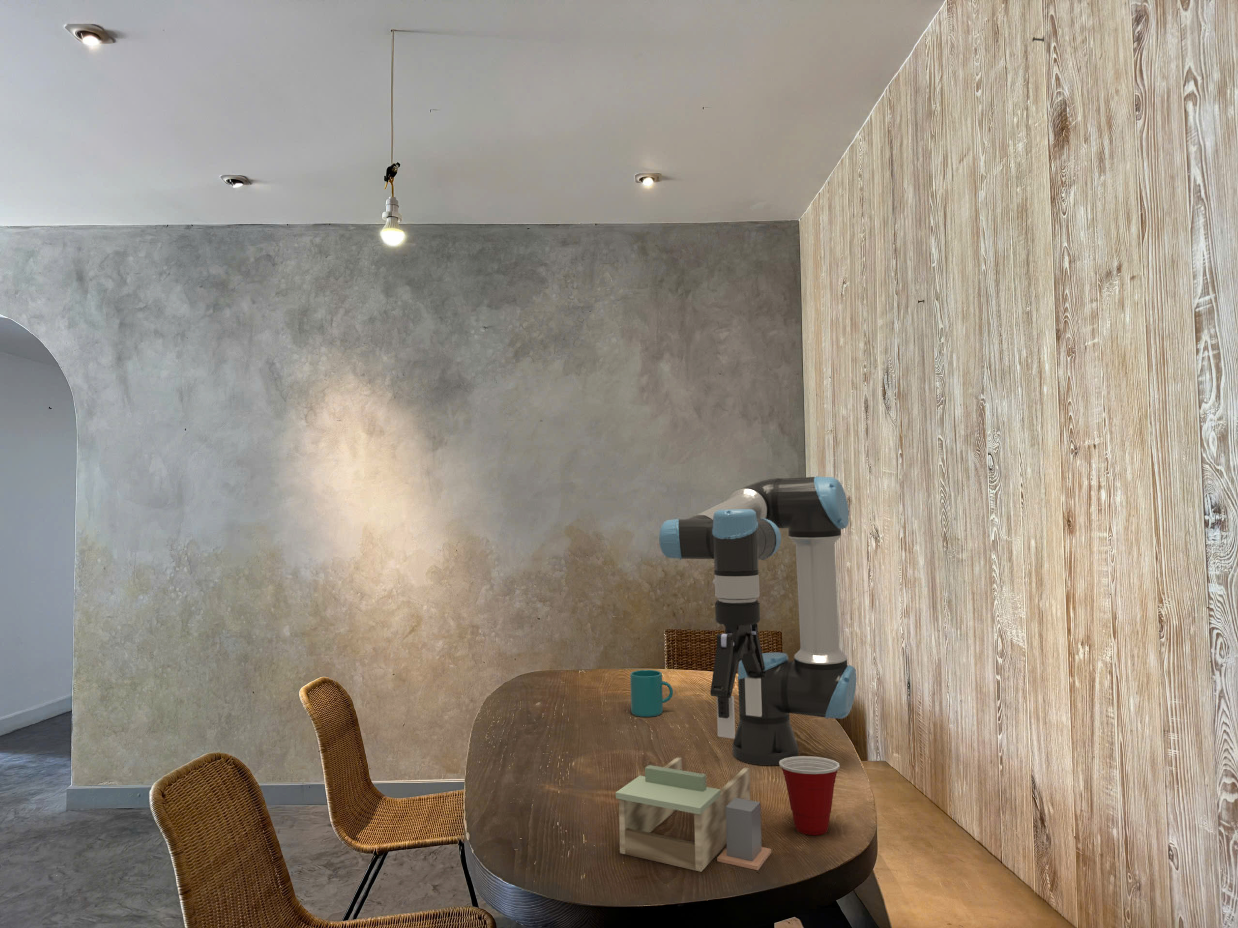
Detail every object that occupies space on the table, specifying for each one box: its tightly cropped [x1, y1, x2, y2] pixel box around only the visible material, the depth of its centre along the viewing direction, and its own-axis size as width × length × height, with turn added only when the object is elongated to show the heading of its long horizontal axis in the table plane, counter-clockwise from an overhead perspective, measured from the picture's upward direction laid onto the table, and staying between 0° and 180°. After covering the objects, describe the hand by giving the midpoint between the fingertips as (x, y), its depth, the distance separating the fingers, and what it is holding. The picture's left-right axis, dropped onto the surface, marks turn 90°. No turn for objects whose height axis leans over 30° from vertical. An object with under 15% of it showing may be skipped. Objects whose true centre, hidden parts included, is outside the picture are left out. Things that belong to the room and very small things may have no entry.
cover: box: [615, 764, 722, 814], centre depth 132 cm, size 9×16×3 cm, turn 61°
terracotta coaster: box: [716, 846, 772, 871], centre depth 129 cm, size 7×7×1 cm
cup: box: [629, 669, 674, 718], centre depth 218 cm, size 9×12×11 cm
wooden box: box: [618, 756, 751, 872], centre depth 138 cm, size 24×15×9 cm, turn 151°
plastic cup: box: [778, 755, 840, 836], centre depth 140 cm, size 11×11×12 cm
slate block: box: [726, 798, 763, 861], centre depth 129 cm, size 4×4×8 cm
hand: (740, 725), depth 130 cm, fingers open, 13 cm apart
